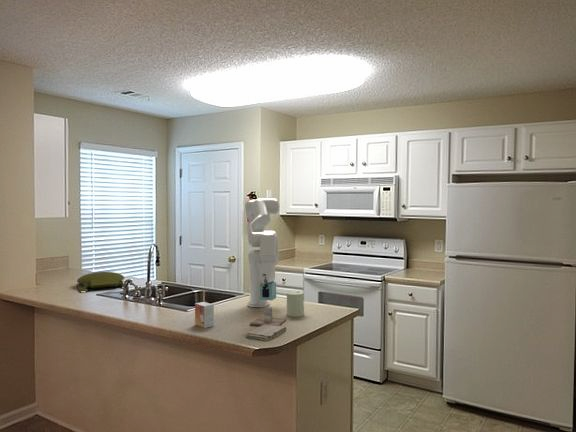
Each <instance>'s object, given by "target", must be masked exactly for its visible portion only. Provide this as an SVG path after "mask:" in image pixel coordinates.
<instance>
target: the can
mask: <svg viewBox="0 0 576 432" xmlns="http://www.w3.org/2000/svg"><path fill="white" fill-rule="evenodd" d="M304 293H305V292H304V291H302V290H300V291H299V290H291V291H287V292H286V316H287V317H293V318H294V317H295V318H296V317H297V318H298V317H303V316H305V304H304V303H305V295H304Z"/></svg>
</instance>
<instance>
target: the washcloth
mask: <svg viewBox="0 0 576 432" xmlns="http://www.w3.org/2000/svg"><path fill="white" fill-rule="evenodd" d="M286 331H287V327H286V326H282V325H280V326H273V325H266V324H264V325H262V326H256V328H254V329H252V330H250V331H247V332H246V333H245V335H246V337H245V338H247V339H251V340H257V339H259V341H263V340H265V342H269V341H271V340H272V339H271V338H273V337H275V336H276V337H278V336H280V335H281V334H283V333H285V332H286ZM282 332H283V333H282ZM280 333H281V334H280ZM279 334H280V335H279ZM277 335H278V336H277ZM276 337H275V338H276ZM273 339H274V338H273Z"/></svg>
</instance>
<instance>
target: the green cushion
mask: <svg viewBox="0 0 576 432" xmlns="http://www.w3.org/2000/svg"><path fill="white" fill-rule="evenodd" d="M124 279H125V276H124V275H122V274H121V273H118V272H113V271H96V272H90V273H87V274H83V275H82V276H80V277H78V278H77V280H76V282H77V283H76V284H75V286H76V285H77V286H78V288H79V289H78V288H77V289H78V291H79V290H80V291H87V290H88V291H89V289H88V288H90V289H98V288H109V287H118V286H119V287H120V288H121V287H123V282H124V281H123V280H124ZM77 286H76V287H77ZM80 291H79V292H80Z"/></svg>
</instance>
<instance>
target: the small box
mask: <svg viewBox="0 0 576 432" xmlns="http://www.w3.org/2000/svg"><path fill="white" fill-rule="evenodd" d="M214 305H215V304H213V303H209V302H207V301H201V302H196V303H194V325H195V326H197V327H201V328H203V329H206V328H211V327H214V325H215V324H214V323H215V321H214V319H215V314H214V313H215V312H214V311H215V306H214Z"/></svg>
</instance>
